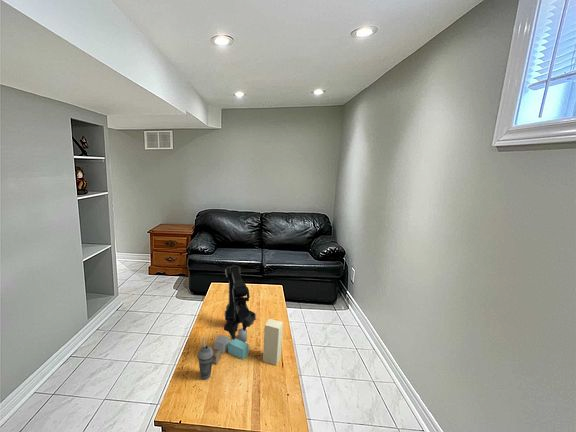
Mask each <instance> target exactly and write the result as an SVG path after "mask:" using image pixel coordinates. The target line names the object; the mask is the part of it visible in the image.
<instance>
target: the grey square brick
mask: <svg viewBox="0 0 576 432" xmlns="http://www.w3.org/2000/svg"><path fill="white" fill-rule="evenodd" d="M229 342H230V336H226V335H223V334H219V335H218V336H217V337H216V338H215V339H214V341H213V348H214V349H218V350H221V354H225V352H226V351H228V343H229Z"/></svg>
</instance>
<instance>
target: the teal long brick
mask: <svg viewBox="0 0 576 432" xmlns="http://www.w3.org/2000/svg"><path fill="white" fill-rule="evenodd" d="M249 350H250V344H249V343H247V342H243V341H240V340H238V338H236V337H235V340H233V339H232V338H231V340H229V343H228V349H227V353H228V354H231V355H233V356H235V357H236V358H238V359H240V360H244V359H245V358H247V356H248V355H249V353H250V351H249Z"/></svg>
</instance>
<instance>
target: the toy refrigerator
mask: <svg viewBox="0 0 576 432" xmlns="http://www.w3.org/2000/svg"><path fill="white" fill-rule="evenodd" d="M283 328H284V321H281V320H276V319H272V318H268V320H267V321H266V322H265V324H264V332H263V333H264V334H263V350H262V351H263V352H262V353H263V354H262V362H264V363H267V364H270V365H273V366H277V365H278V363H279V361H280V360H281V357H282V343H283V333H284V331H283V330H284V329H283Z"/></svg>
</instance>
